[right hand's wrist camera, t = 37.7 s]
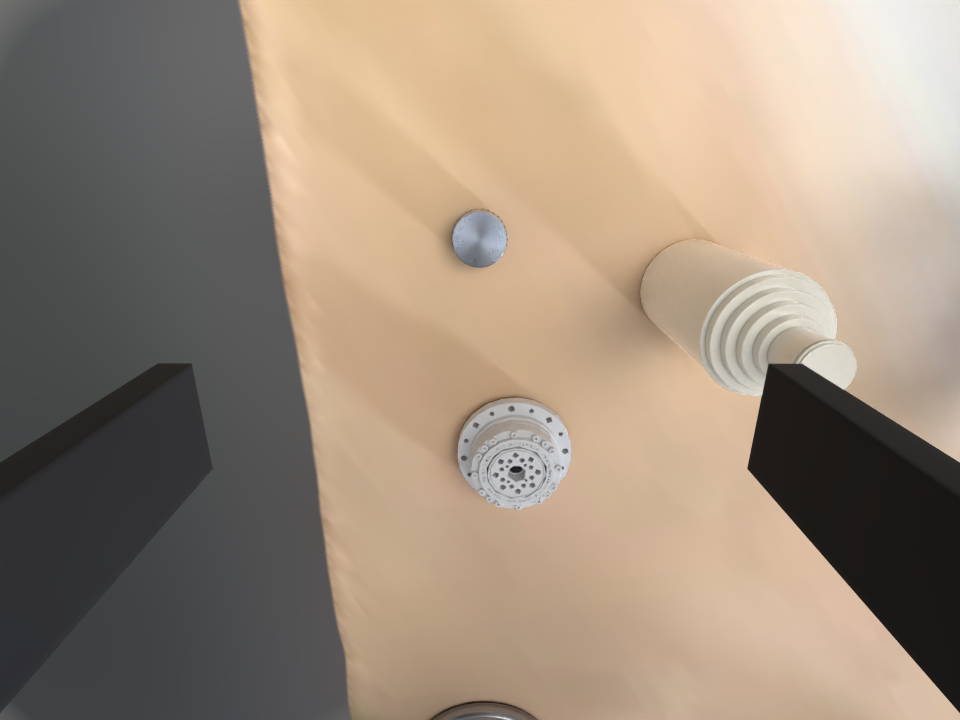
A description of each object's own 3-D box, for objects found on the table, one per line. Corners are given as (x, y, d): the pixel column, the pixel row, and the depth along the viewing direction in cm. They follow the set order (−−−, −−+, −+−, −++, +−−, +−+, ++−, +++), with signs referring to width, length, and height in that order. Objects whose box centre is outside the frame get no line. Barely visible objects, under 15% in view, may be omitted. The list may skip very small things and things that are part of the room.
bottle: (702, 217, 41) (861, 258, 24) (755, 291, 43) (938, 377, 26) (620, 284, 43) (714, 366, 26) (676, 351, 45) (797, 470, 28)
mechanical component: (592, 441, 48) (508, 373, 46) (603, 467, 44) (511, 394, 41) (517, 512, 50) (435, 452, 48) (521, 543, 46) (431, 479, 44)
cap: (445, 253, 42) (444, 257, 40) (462, 201, 41) (461, 202, 39) (495, 270, 43) (496, 275, 41) (514, 219, 41) (515, 222, 39)
